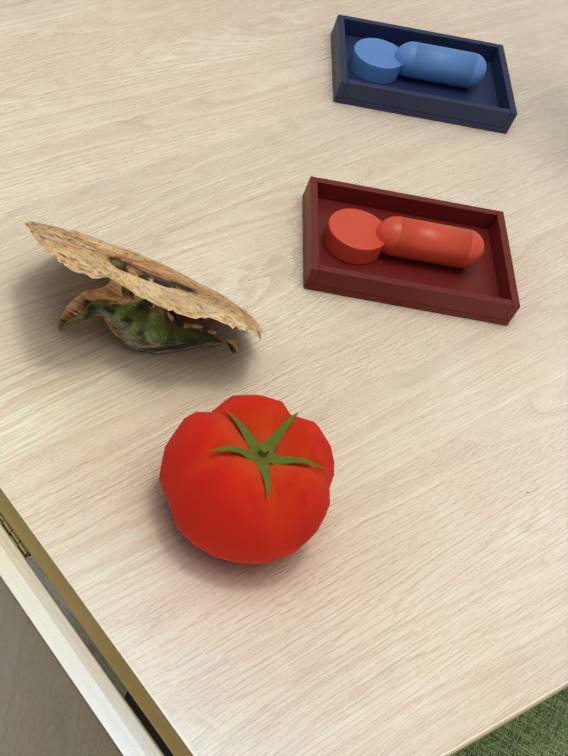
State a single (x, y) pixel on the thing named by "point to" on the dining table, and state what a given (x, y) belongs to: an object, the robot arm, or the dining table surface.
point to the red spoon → (399, 240)
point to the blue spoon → (415, 63)
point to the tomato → (248, 479)
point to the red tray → (405, 276)
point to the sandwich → (140, 295)
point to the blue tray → (417, 97)
